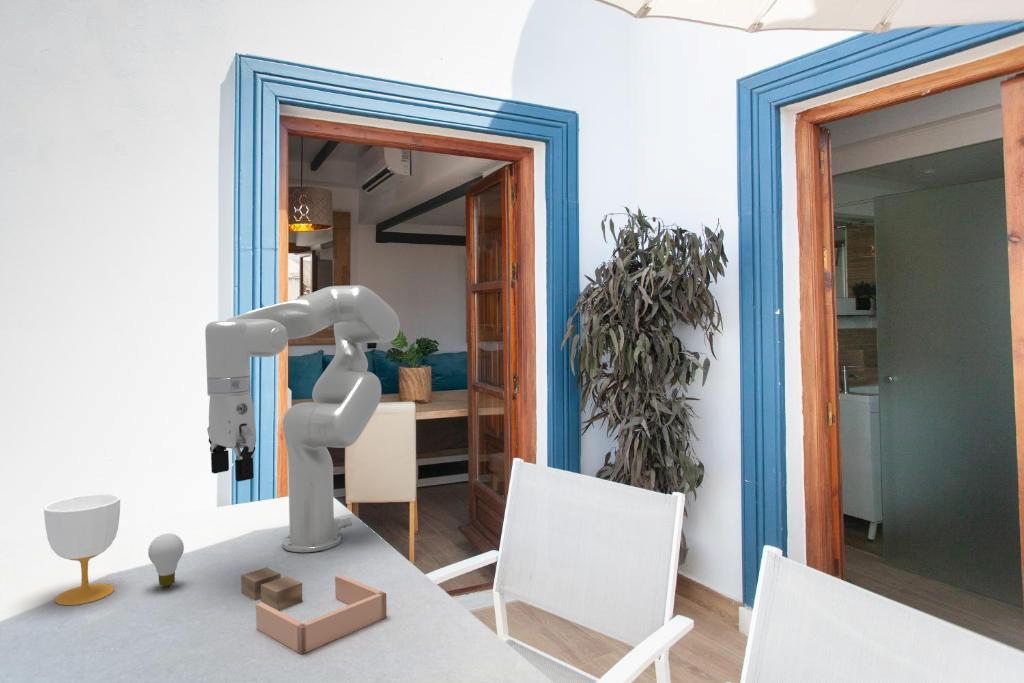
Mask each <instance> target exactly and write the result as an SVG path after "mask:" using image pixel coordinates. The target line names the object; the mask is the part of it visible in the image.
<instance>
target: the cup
mask: <svg viewBox="0 0 1024 683" xmlns="http://www.w3.org/2000/svg"><path fill="white" fill-rule="evenodd" d="M43 514H44V516H43V517H44V525H45V530H46V535H47V536H46V538H47V541H48V543H49V546H50V549H51V550H52V551H53V552H54V554H56V555H57V556H58V557H59V558H62V559H65V560H69V561H77V562H79V563H80V570H81V572H80V573H81V582H80V584H81V585H80V586H76V587H73V588H70V589H67V590H65V591H63V592H61V593H60V594H58V595H57V596H56V597H55V603H56V604H58V605H61V606H77V605H84V604H89V603H93V602H96V601H98V600H99V601H100V600H102V599H104V598H106V597H109V595H111V594H112V593H113V592H114V591H115V589H114V586H113V585H111V584H109V583H94V584H93V583H91V584H89V582H90V581H89V573H88V572H89V561H90V559H93V558H96V557H98V556H99V555H101V554H103V553H104V552H106V550H107V549H109V548H110V547H111V545H112V544H113V542H114V540H115V539H116V538H117V537H116V536H117V535H118V531H119V524H120V515H121V498H120V496H119V495H117V494H113V493H111V494H110V493H97V494H95V493H94V494H85V495H83V494H82V495H76V496H71V497H67V498H61V499H58V500H55V501H52V502H49V503H47V504H46V505H44V506H43Z"/></svg>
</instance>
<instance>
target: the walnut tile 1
mask: <svg viewBox="0 0 1024 683" xmlns="http://www.w3.org/2000/svg"><path fill="white" fill-rule="evenodd" d="M281 576H282V575H281V573H280V572H278V571H276V570H274V569H271V568H269V567H263V568H261V569H256V570H253V571H249V572H247V573H244V574H243V573H242V574H241V575H240V580H241V581H240V586H241V588H240V589H241V594H243V595H244V596H246V597H248V598H249V599H251V600H253V601H257V600H261V585H262V584H265V583H268V582H271V581H274V580H277V579H279V578H282V577H281Z"/></svg>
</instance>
